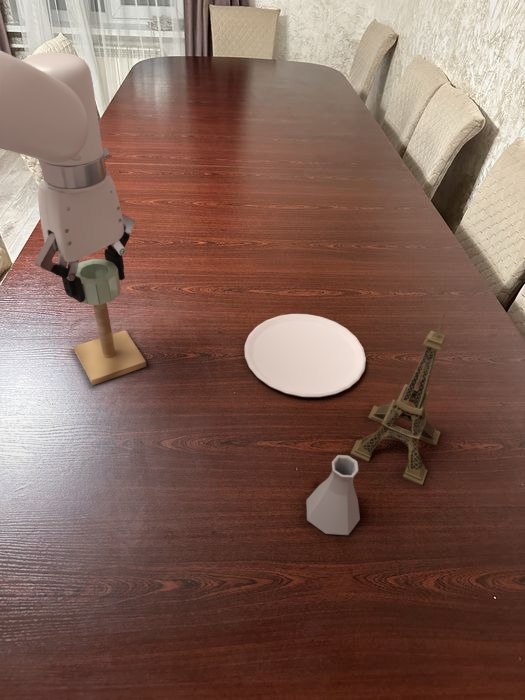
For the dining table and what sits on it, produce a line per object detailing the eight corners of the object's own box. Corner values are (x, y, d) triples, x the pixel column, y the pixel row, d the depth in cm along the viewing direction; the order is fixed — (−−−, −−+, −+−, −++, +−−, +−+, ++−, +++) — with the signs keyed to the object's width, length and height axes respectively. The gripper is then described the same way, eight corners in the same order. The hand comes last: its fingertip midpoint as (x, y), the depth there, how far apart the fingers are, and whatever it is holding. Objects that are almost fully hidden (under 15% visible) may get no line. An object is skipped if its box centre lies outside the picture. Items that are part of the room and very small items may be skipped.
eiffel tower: (373, 406, 82) (413, 273, 65) (439, 433, 79) (500, 301, 62) (350, 454, 75) (388, 319, 58) (421, 485, 72) (484, 352, 55)
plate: (381, 395, 84) (383, 390, 83) (253, 406, 81) (254, 401, 80) (345, 315, 99) (346, 309, 98) (236, 321, 96) (236, 316, 95)
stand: (92, 385, 82) (80, 331, 74) (74, 351, 87) (61, 297, 80) (146, 366, 86) (139, 313, 78) (126, 334, 91) (118, 282, 84)
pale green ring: (83, 309, 74) (79, 289, 71) (69, 286, 78) (65, 265, 75) (126, 297, 76) (123, 276, 74) (111, 274, 80) (108, 254, 78)
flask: (353, 545, 65) (369, 501, 58) (298, 524, 66) (307, 480, 60) (365, 497, 70) (381, 452, 63) (313, 479, 71) (323, 433, 65)
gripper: (109, 141, 71) (125, 253, 83) (-9, 180, 61) (29, 303, 73) (147, 157, 68) (158, 272, 80) (30, 202, 58) (63, 326, 70)
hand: (96, 285), depth 76 cm, fingers closed on pale green ring, 6 cm apart
